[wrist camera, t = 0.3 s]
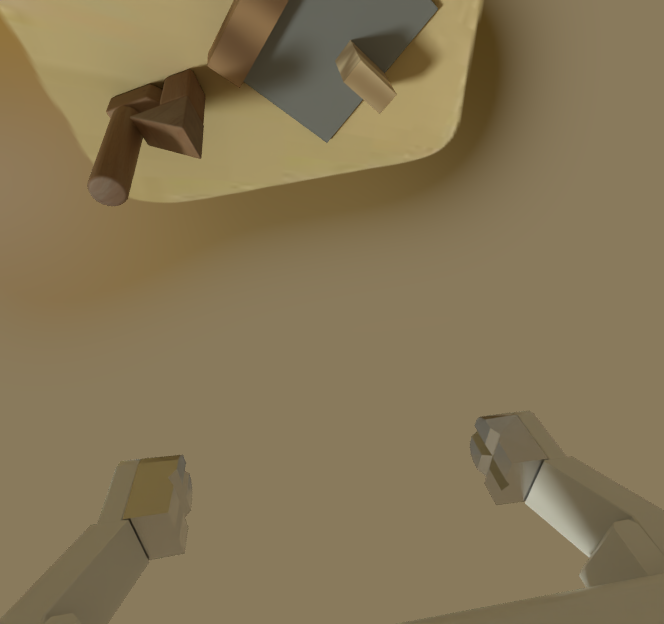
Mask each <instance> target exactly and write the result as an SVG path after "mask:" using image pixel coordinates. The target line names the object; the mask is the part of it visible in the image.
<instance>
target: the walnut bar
mask: <svg viewBox="0 0 664 624" xmlns="http://www.w3.org/2000/svg"><path fill="white" fill-rule="evenodd" d="M288 1H289V0H234V1H233V3H232V5H231V7H230V9H229V12H228V14H227V16H226V18H225V20H224V22H223V24H222V26H221V28H220V30H219V32H218V34H217V36H216V38H215V40H214V42H213V45H212V47H211V49H210V51H209V53H208V63H207V66H208V67H209V68H211V69H212V70H214V71H215V72H217V73H218V74H220V75H221V76H223V77H224V78H226V79H227V80H229V81H230V82H232V83H233V84H235V85H236V86H238V87H239V88H240V87H241V85H242V83H243V81H244V79H245V78H246V76H247V74H248V72H249V71H250V69H251V67H252V65H253V63H254V62H255V60H256V58H257V56H258V54H259V53H260V51H261V49H262V47H263V46H264V44H265V42H266V40H267V38H268V37H269V35H270V33H271V31H272V30H273V28H274V26H275V24H276V22H277V21H278V19H279V17H280V15H281V13H282V12H283V10H284V8H285V6H286V5H287V3H288Z"/></svg>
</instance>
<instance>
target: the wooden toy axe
mask: <svg viewBox="0 0 664 624" xmlns="http://www.w3.org/2000/svg"><path fill="white" fill-rule="evenodd" d="M204 108H205V94H204V92H203V90H202V89H201V87H200V85H199V83H198V81H197V79H196V77H195V75H194V73H193V71H192V70H186V71H183V72H181V73H178V74H175V75H172V76H170V77H167V78H166V79H165V82H164V86H163V89H160V88H158V87H156V86H154V85H151V84H149V85H146V86H143V87H140V88H138V89H135V90H132V91H130V92H127V93H124V94H121V95H119V96H116V97H113V98H111V100H110V103H109V105H108V108H107V110H106V112H107V114H108V116H109V117H110V118H111V119H110V122H109V125H108V127H107V130H106V133H105V136H104V139H103V141H102V144H101V147H100V150H99V152H98V155H97V158H96V161H95V164H94V166H93V169H92V172H91V175H90V178H89V180H88V185H87V187H88V190H89V193H90V194H91V196H92V197H93V198H94V199H95V200H96V201H98V202H100V203H101V204H104V205H107V206H118V205H121V204H123V203H124V202H125V201H126V200H127V199H128V196H129V192H130V188H131V183H132V179H133V175H134V171H135V167H136V163H137V159H138V155H139V151H140V147H141V143H142V139H143V138H144V139H145V141H146V142H147V144H148V145H150V146H153V147H157V148H161V149H165V150H169V151H172V152H176V153H180V154H184V155H188V156H191V157H195V158H199V159H201V155H202V142H203V128H204V125H203V121H204Z"/></svg>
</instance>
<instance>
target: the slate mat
mask: <svg viewBox="0 0 664 624" xmlns="http://www.w3.org/2000/svg"><path fill="white" fill-rule="evenodd" d="M437 10H438V8H437V7H436V6H435V4H434V3H433V2H432V1H431V0H289V1H288V3H287V5H286V6H285V8H284V10H283V12H282V13H281V15H280V17H279V19H278V21H277V22H276V24H275V26H274V28H273V30H272V31H271V33H270V35H269V37H268V38H267V40H266V42H265V44H264V46H263V47H262V49H261V51H260V53H259V54H258V56H257V58H256V60H255V62H254V63H253V65H252V67H251V69H250V71H249V72H248V74H247V76H246V78H245V79H244V81H243V82H245V83H246V84H248V85H249V86H250V87H252V88H253V89H254V90H256V91H257V92H258V93H260V94H261V95H263V96H264V97H265V98H267V99H268V100H269V101H271V102H272V103H273V104H275V105H276V106H277V107H279V108H280V109H282V110H283V111H284V112H286V113H287V114H288V115H290V116H291V117H292V118H294V119H295V120H297V121H298V122H299V123H301V124H302V125H303V126H305V127H306V128H307V129H309V130H310V131H312V132H313V133H314V134H316V135H317V136H318V137H320V138H321V139H322V140H324V141H325V142H328V141H329V140H330V139H331V137H332V136H333V135H334V134H335V133H336V131H337V130H338V129H339V128H340V127H341V125H342V124H343V123H344V122H345V121H346V119H347V118H348V117H349V116H350V115H351V113H352V112H353V111H354V110H355V108H356V107H357V106H358V105H359V104H360V102H361V101H362V100H363V99H362V98H361V97H360V96H359V95H358V94H356V93H355V92H354V91H353V90H352V89H351V88H350V87H349V86H347V85H346V84H345V83H344V82H343V80H342V77H341V75H340V72H339V70H338V67H337V65H336V62H335V60H336V59H337V57H338V56H339V55H340V53H341V52H342V51H343V49H344V48H345V46H346V45H347V44H348V42H349V41H350V40H351V41H352V42H353V43H354V44H355V45H356V46H357V47H358V48H359V49H360V50H361V51H362V52H363V53H364V54H365V55H366V56H367V57H368V58H369V59H370V60H372V61H373V62H374V63H375V64H376V65H377V66H378V67H379V68H380V69H381V70H382V71H383V72H384V73H385V72H386V71H387V70H388V69H389V67H390V66H391V65H392V64H393V63H394V61H395V60H396V59H397V58H398V57H399V55H400V54H401V53H402V52H403V51H404V49H405V48H406V47H407V46H408V45H409V43H410V42H411V41H412V40H413V39H414V37H415V36H416V35H417V34H418V32H419V31H420V30H421V29H422V28H423V26H424V25H425V24H426V23H427V22H428V20H429V19H430V18H431V17H432V16H433V14H434V13H435V12H436V11H437Z"/></svg>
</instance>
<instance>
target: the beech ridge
mask: <svg viewBox="0 0 664 624" xmlns="http://www.w3.org/2000/svg"><path fill="white" fill-rule="evenodd" d="M335 62H336V65H337V67H338V70H339V72H340V75H341V77H342V80H343V82H344V83H345V84H346V85H347V86H349V87H350V88H351V89H352V90H353V91H354V92H355V93H356V94H358V95H359V96H360V97H361V98H362V99H363V100H364V101H366V102H367V103H368V104H369V105H370V106H371V107H372V108H374V109H375V110H376V111H377V112H378V113H379V114H380V113H381V112H382V111H383V110H384V109H385V108H386V106H387V105H388V104H389V103H390V102H391V101H392V100H393V98H394V97H395V96H396V95H397V94H396V93H395V91H394V89H393V87H392V85H391V84H390V82H389V80H388V78H387V77H386V75H385V73H384V72H383V71H382V70H381V69H380V68H379V67H378V66H377V65H376V64H375V63H374V62H373V61H372V60H370V59H369V58H368V57H367V56H366V55H365V54H364V53H363V52H362V51H361V50H360V49H359V48H358V47H357V46H356V45H355V44H354V43H353V42H352V41H351V40H350V41H349V42H348V44H347V45H346V46H345V48H344V49H343V51H342V52H341V53H340V55H339V56H338V57H337V59H336V60H335Z"/></svg>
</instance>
